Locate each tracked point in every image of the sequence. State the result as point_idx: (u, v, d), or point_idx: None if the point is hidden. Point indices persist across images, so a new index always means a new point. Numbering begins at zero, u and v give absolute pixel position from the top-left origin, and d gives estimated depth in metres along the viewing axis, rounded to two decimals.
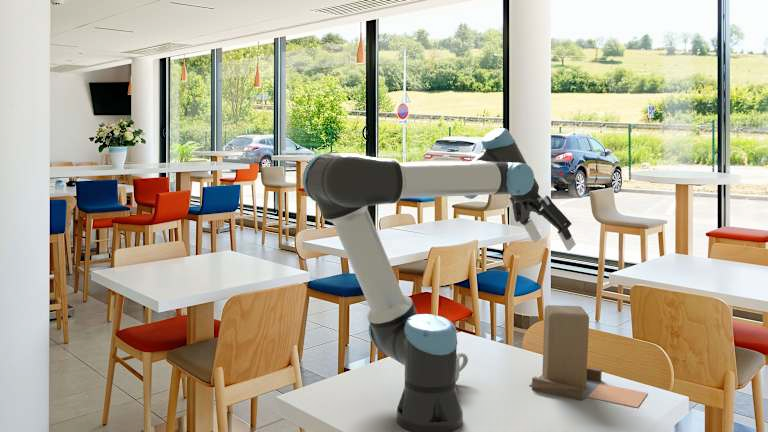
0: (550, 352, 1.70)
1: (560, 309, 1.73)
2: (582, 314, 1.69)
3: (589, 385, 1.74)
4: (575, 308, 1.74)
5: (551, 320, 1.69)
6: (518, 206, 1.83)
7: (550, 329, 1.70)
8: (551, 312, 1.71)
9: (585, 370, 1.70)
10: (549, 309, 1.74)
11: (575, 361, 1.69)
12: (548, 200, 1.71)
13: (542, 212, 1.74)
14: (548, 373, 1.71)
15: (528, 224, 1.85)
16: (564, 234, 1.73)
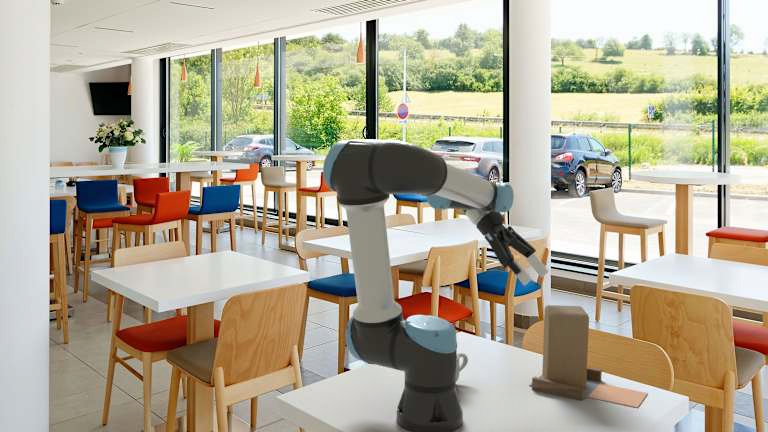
0: (550, 352, 1.70)
1: (560, 309, 1.73)
2: (582, 314, 1.69)
3: (589, 385, 1.74)
4: (575, 308, 1.74)
5: (551, 320, 1.69)
6: None
7: (550, 329, 1.70)
8: (551, 312, 1.70)
9: (585, 370, 1.70)
10: (549, 309, 1.74)
11: (575, 361, 1.69)
12: (490, 236, 1.76)
13: None
14: (548, 373, 1.71)
15: (529, 258, 1.84)
16: None
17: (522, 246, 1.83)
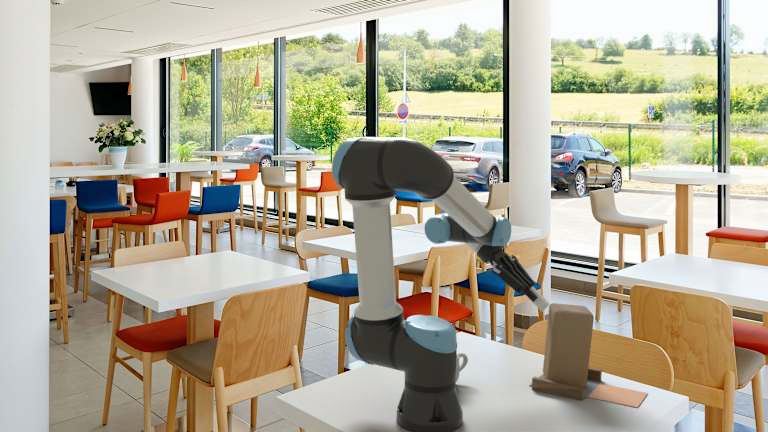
0: (553, 349, 1.70)
1: (565, 307, 1.73)
2: (587, 313, 1.69)
3: (589, 385, 1.74)
4: (580, 307, 1.74)
5: (556, 317, 1.69)
6: None
7: (554, 326, 1.70)
8: (556, 309, 1.71)
9: (586, 369, 1.70)
10: (554, 307, 1.74)
11: (577, 360, 1.70)
12: (498, 270, 1.77)
13: None
14: (549, 370, 1.71)
15: None
16: None
17: (520, 276, 1.81)
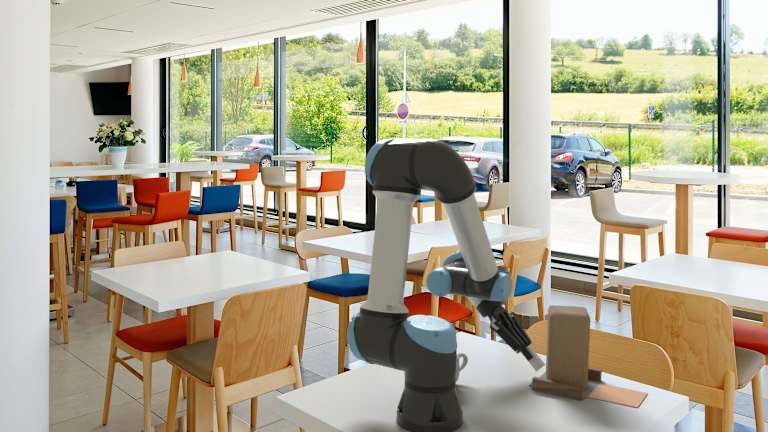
0: (550, 352, 1.70)
1: (562, 309, 1.73)
2: (583, 315, 1.68)
3: (589, 385, 1.74)
4: (578, 309, 1.73)
5: (551, 320, 1.69)
6: None
7: (551, 329, 1.70)
8: (552, 312, 1.70)
9: (586, 371, 1.69)
10: (551, 309, 1.73)
11: (576, 362, 1.69)
12: (497, 326, 1.78)
13: None
14: (549, 373, 1.71)
15: None
16: None
17: (518, 333, 1.82)
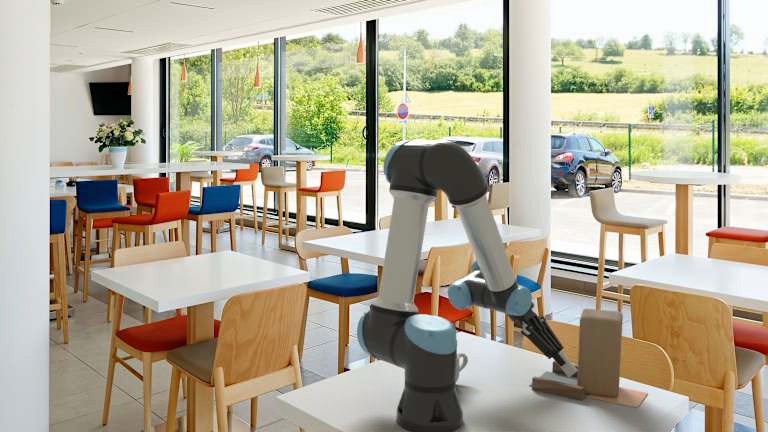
0: (580, 356, 1.67)
1: (595, 313, 1.69)
2: (614, 319, 1.64)
3: None
4: (612, 313, 1.69)
5: (581, 323, 1.66)
6: None
7: (580, 332, 1.67)
8: (583, 315, 1.67)
9: (617, 377, 1.65)
10: (583, 312, 1.70)
11: (606, 367, 1.65)
12: (528, 331, 1.73)
13: None
14: (578, 377, 1.68)
15: None
16: None
17: (549, 338, 1.77)
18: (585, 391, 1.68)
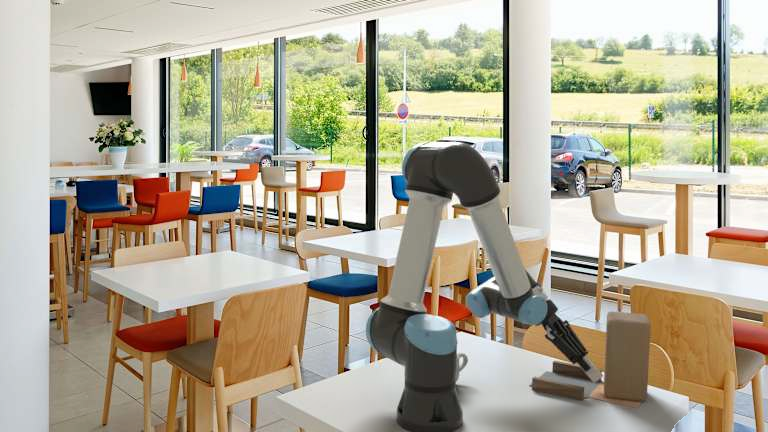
0: (608, 360, 1.64)
1: (621, 316, 1.67)
2: (643, 322, 1.61)
3: (589, 385, 1.74)
4: (638, 316, 1.67)
5: (609, 327, 1.63)
6: None
7: (608, 336, 1.64)
8: (610, 318, 1.65)
9: (645, 381, 1.62)
10: (609, 315, 1.68)
11: (635, 371, 1.62)
12: (553, 336, 1.70)
13: None
14: (605, 381, 1.65)
15: None
16: None
17: (573, 343, 1.74)
18: (613, 396, 1.65)
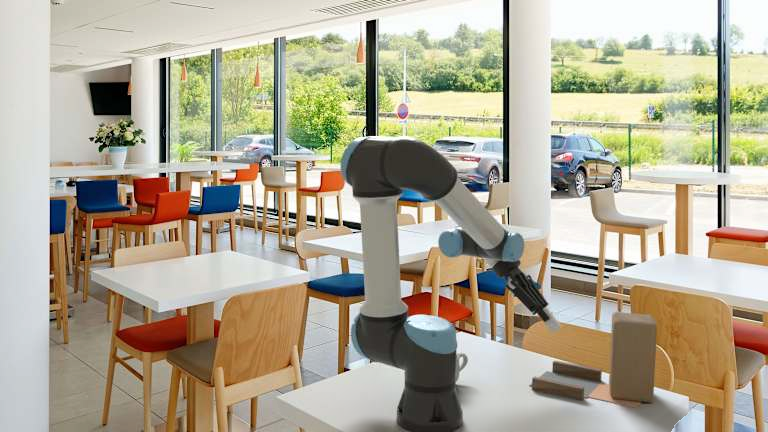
0: (614, 361, 1.64)
1: (627, 317, 1.66)
2: (649, 323, 1.61)
3: (589, 385, 1.74)
4: (644, 317, 1.66)
5: (615, 328, 1.63)
6: None
7: (614, 337, 1.63)
8: (616, 319, 1.64)
9: (652, 382, 1.62)
10: (615, 316, 1.67)
11: (641, 372, 1.62)
12: (513, 285, 1.74)
13: None
14: (612, 383, 1.65)
15: None
16: None
17: (534, 295, 1.78)
18: (619, 397, 1.64)
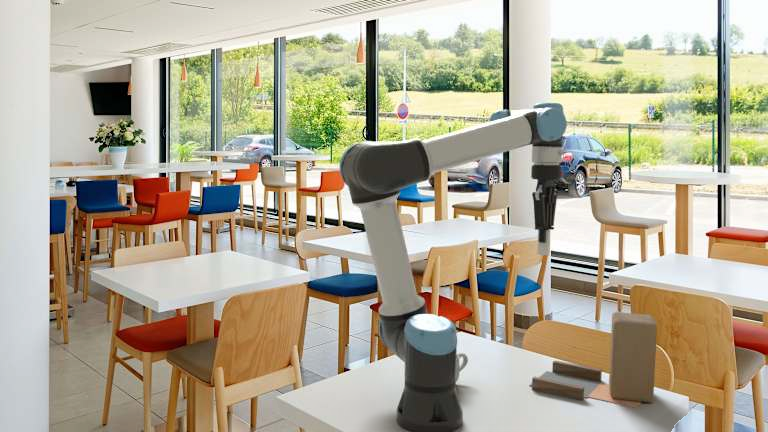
0: (614, 361, 1.64)
1: (627, 317, 1.66)
2: (649, 323, 1.61)
3: (589, 385, 1.74)
4: (644, 317, 1.66)
5: (615, 328, 1.63)
6: None
7: (614, 337, 1.63)
8: (616, 319, 1.64)
9: (652, 382, 1.62)
10: (615, 316, 1.67)
11: (641, 372, 1.62)
12: (539, 198, 1.66)
13: None
14: (612, 383, 1.65)
15: None
16: None
17: (548, 214, 1.72)
18: (619, 397, 1.64)
